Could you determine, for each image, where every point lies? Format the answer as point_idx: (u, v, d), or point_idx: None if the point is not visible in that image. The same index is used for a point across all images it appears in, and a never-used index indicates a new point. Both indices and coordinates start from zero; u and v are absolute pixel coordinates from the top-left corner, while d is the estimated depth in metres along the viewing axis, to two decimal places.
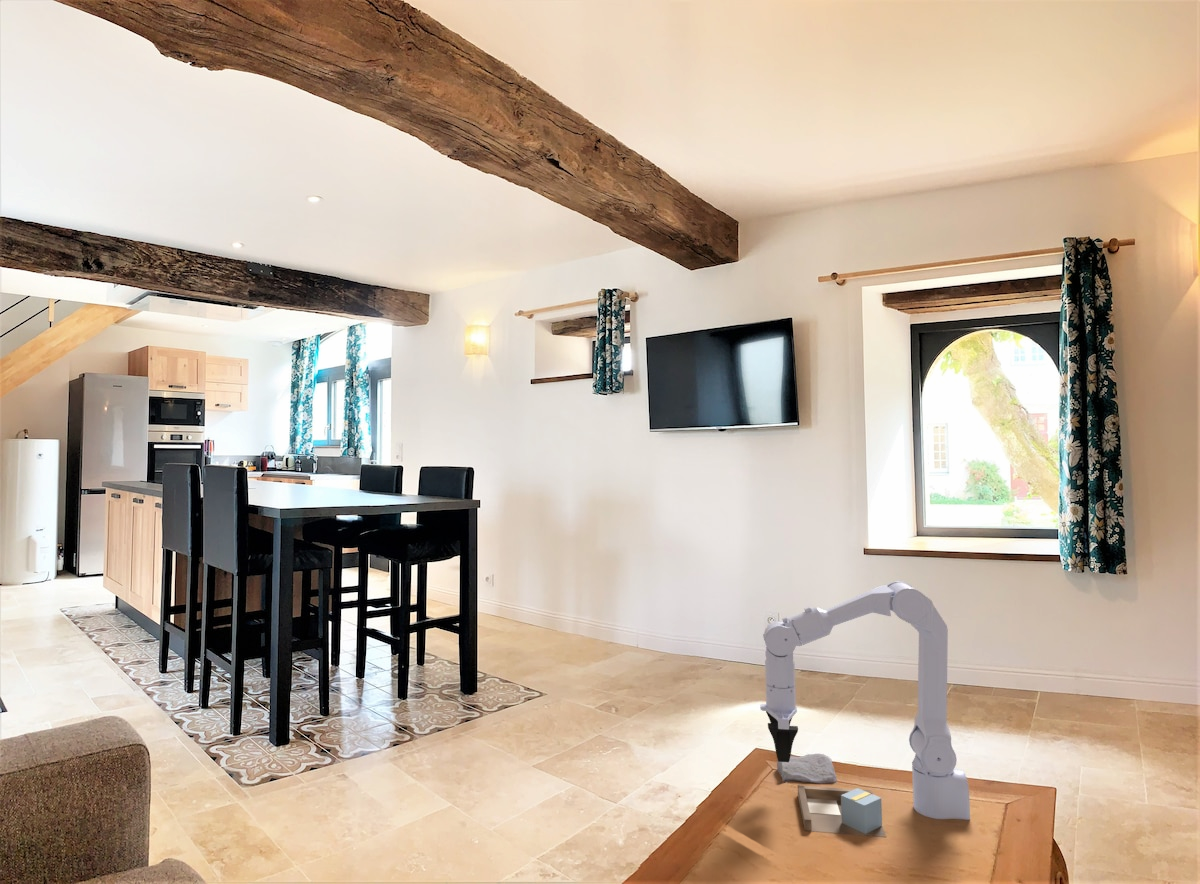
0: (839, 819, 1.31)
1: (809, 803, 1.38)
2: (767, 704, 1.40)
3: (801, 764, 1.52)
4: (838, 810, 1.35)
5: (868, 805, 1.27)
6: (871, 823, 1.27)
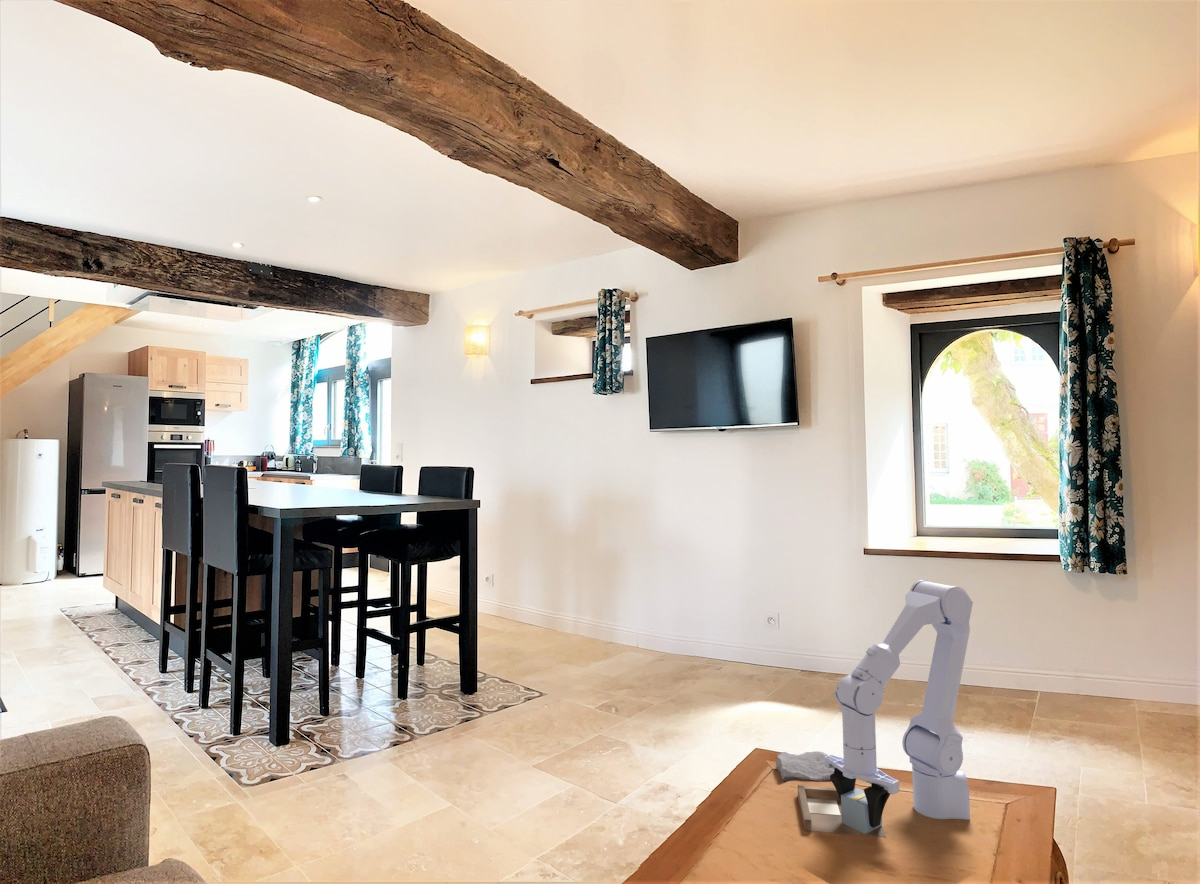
0: (839, 819, 1.31)
1: (809, 803, 1.38)
2: (855, 770, 1.28)
3: (800, 761, 1.53)
4: (838, 810, 1.35)
5: None
6: None
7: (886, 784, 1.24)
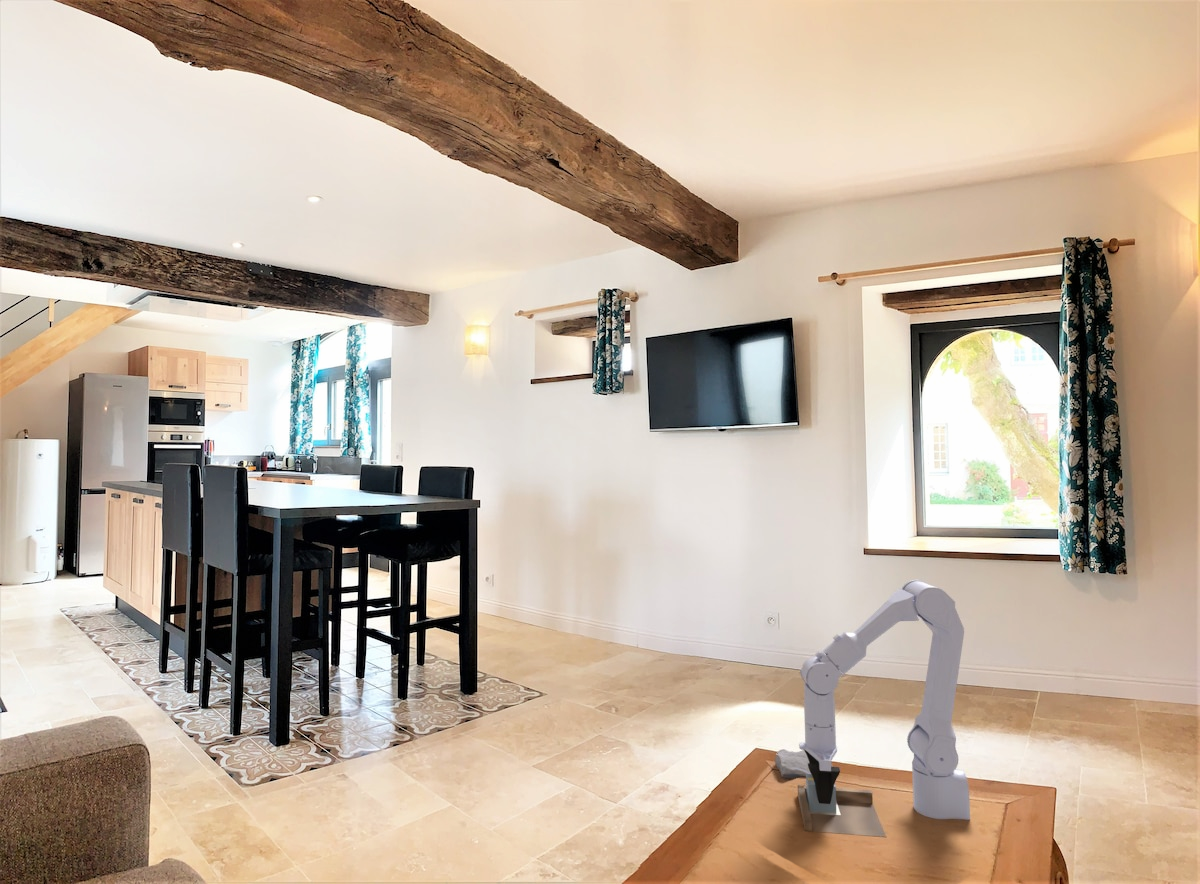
0: (839, 819, 1.31)
1: None
2: (806, 743, 1.36)
3: (799, 758, 1.54)
4: (838, 810, 1.35)
5: None
6: (818, 804, 1.34)
7: (818, 760, 1.31)
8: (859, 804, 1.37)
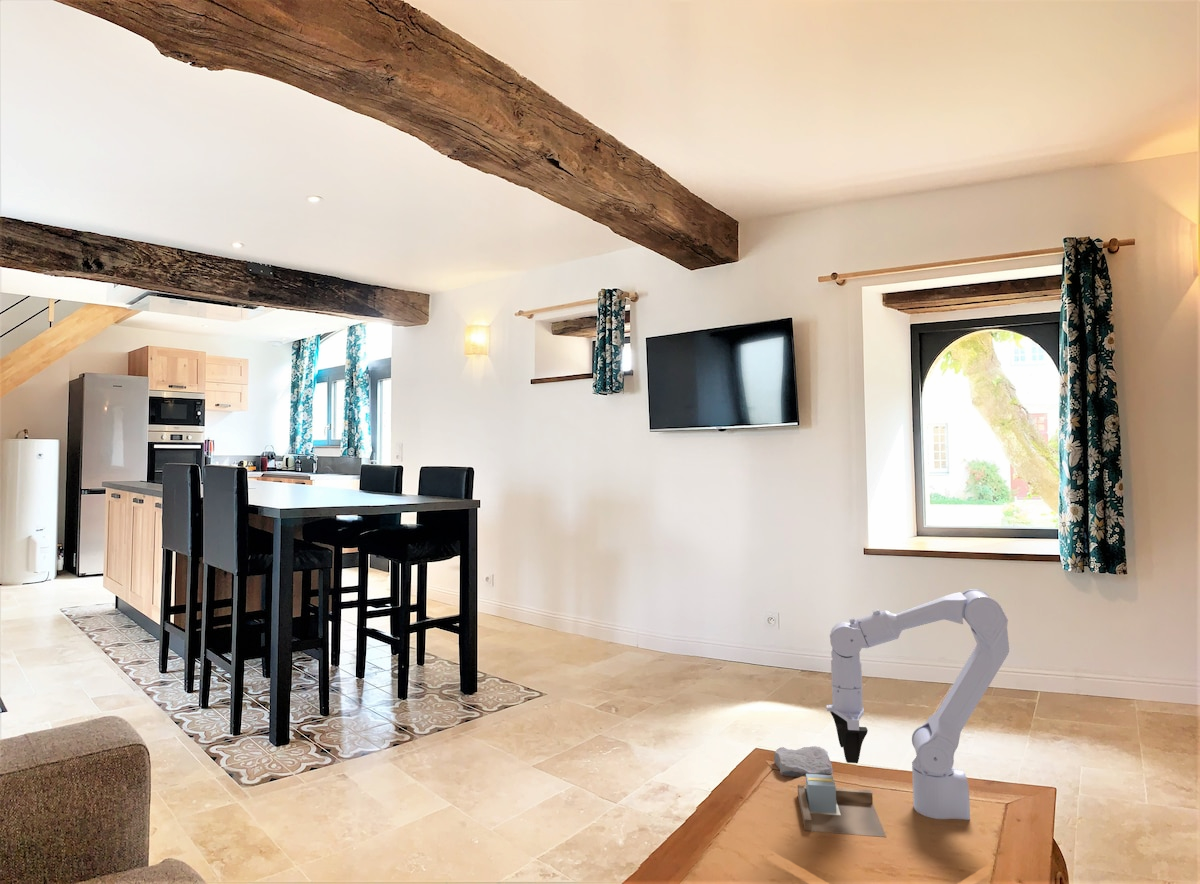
0: (839, 819, 1.31)
1: None
2: (834, 705, 1.40)
3: (798, 756, 1.56)
4: (838, 810, 1.35)
5: (815, 787, 1.34)
6: (818, 804, 1.34)
7: (846, 720, 1.34)
8: (859, 804, 1.37)
